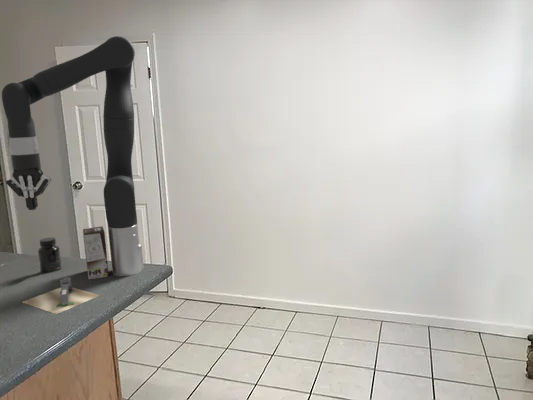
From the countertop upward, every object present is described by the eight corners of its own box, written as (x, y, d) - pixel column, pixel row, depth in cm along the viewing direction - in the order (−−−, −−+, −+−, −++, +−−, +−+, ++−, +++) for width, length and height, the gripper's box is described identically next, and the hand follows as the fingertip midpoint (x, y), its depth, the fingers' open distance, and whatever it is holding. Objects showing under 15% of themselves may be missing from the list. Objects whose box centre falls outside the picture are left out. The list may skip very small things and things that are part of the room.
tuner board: (66, 290, 146) (65, 284, 145) (100, 300, 137) (99, 294, 137) (22, 307, 134) (21, 301, 134) (57, 319, 126) (56, 313, 125)
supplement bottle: (36, 275, 159) (31, 240, 157) (53, 268, 165) (49, 235, 163) (49, 278, 156) (45, 243, 154) (67, 271, 162) (62, 237, 160)
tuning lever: (61, 289, 141) (60, 278, 140) (72, 287, 142) (71, 276, 141) (59, 305, 129) (57, 293, 129) (71, 303, 130) (69, 291, 130)
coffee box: (109, 280, 152) (104, 232, 149) (88, 283, 150) (83, 234, 147) (108, 271, 161) (103, 225, 157) (87, 274, 158) (82, 228, 155)
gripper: (52, 150, 144) (59, 206, 148) (8, 151, 143) (16, 207, 147) (42, 153, 137) (49, 211, 140) (-5, 154, 136) (4, 213, 140)
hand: (32, 209), depth 144 cm, fingers closed
